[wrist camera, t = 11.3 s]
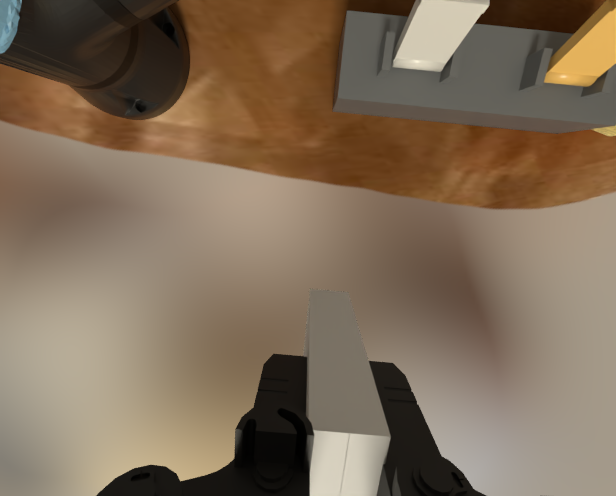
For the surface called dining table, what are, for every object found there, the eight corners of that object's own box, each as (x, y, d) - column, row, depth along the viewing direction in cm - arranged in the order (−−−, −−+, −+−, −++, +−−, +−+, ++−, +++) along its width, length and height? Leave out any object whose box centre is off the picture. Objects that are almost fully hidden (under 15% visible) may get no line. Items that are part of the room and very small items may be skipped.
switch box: (332, 111, 40) (339, 92, 30) (339, 42, 38) (350, -3, 28) (557, 133, 40) (638, 122, 30) (576, 66, 38) (670, 30, 28)
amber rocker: (584, 90, 31) (687, 9, 23) (536, 86, 31) (622, 2, 23) (582, 76, 31) (683, -9, 23) (535, 71, 31) (618, -16, 23)
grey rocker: (438, 75, 31) (489, 6, 23) (390, 71, 31) (422, -1, 23) (440, 58, 31) (490, -17, 23) (391, 54, 31) (424, -24, 23)
